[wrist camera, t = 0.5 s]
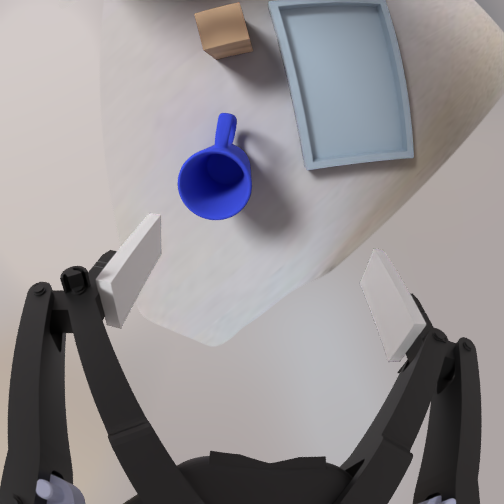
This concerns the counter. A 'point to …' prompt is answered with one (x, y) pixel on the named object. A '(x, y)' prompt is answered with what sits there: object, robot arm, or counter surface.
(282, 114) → the counter surface
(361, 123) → the tray
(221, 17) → the walnut block
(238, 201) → the mug
